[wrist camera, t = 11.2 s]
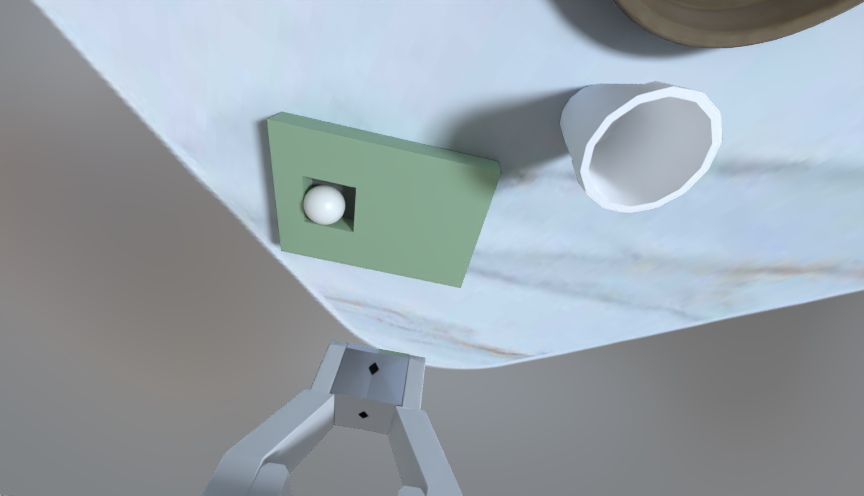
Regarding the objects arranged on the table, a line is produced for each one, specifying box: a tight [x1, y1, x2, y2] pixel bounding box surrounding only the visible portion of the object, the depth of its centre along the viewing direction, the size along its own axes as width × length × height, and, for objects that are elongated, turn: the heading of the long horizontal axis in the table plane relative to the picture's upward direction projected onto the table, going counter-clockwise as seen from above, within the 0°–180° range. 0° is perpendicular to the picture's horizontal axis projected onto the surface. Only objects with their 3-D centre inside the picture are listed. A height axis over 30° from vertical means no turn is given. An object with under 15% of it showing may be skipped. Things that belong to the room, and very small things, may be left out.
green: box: [267, 112, 501, 288], centre depth 41 cm, size 18×26×4 cm
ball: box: [304, 185, 345, 225], centre depth 39 cm, size 5×5×5 cm
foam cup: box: [560, 81, 722, 213], centre depth 28 cm, size 10×9×13 cm
